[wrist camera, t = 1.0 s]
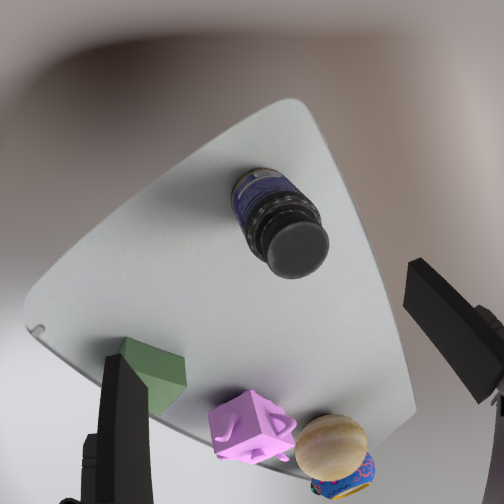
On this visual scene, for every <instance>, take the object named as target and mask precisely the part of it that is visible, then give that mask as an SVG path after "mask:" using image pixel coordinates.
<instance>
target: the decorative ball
mask: <svg viewBox="0 0 504 504" xmlns="http://www.w3.org/2000/svg"><path fill="white" fill-rule="evenodd" d="M366 453H367V437H366V435H365V432H364V430H363V429H362V427H361V426H360V425H359V424H358V423H357V422H356V421H354V420H353V419H351V418H349V417H346V416H343V415H325V416H321V417H319V418H316V419H314V420H313V421H311V422H310V423H308V424H307V425H306V426H305V427H304V428H303V429H302V431H301V432H300V434H299V436H298V438H297V440H296V446H295V457H296V461H297V463H298V465H299V467H300V468H301V469H302V470H303V471H304V472H305V474H307V475H309V476H310V477H312V478H314V479H317V480H320V481H336V480H340V479H343V478H345V477H347V476H349V475H350V474H352V473H353V472H355V471H356V470H357V469H358V468H359V466H360V465H361V464H362V462H363V460H364V458H365V456H366Z"/></svg>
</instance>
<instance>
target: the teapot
mask: <svg viewBox="0 0 504 504" xmlns="http://www.w3.org/2000/svg"><path fill="white" fill-rule="evenodd" d="M208 419H209V425H210V431H211V437H212V442H213V448H214V453H215V454H217V458H218V459H220V460H229V459H234V460H238V461H242V462H245V463H250V464H256V463H258V462H260V461H263V460H265V459H268V458H270V457H272V456H275V455H276V456H277V457H278V458H279V459H280V460H281V461H289V458H288V457H287V456H286V455H285V453H284V451H286V450H288V449H290V448H292V447H295V446H296V444H295V442H294V439H293V436H292V433H291V431H292V430H293V429H294V428H295V427H296V421H295V420H294V419H293V418H291V417H289V416H287V415H285V412H284V409H283V408H281V407H279V406H277V405H275V404H274V403H272V401H271V400H266V399H265V398H263V397H261V396H259V395H258V394H256V393H255V391H254V390H246V391H244V392H243V393H242V395H240V396H238V397H236V398H235V399H233V400H231V401H229V402H227V403H223V404H220V405H218V407H217V408H215V409H213V410H211V411H209V412H208Z"/></svg>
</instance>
